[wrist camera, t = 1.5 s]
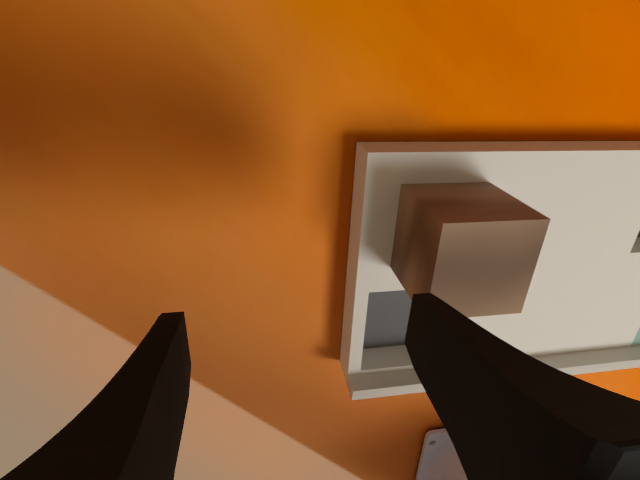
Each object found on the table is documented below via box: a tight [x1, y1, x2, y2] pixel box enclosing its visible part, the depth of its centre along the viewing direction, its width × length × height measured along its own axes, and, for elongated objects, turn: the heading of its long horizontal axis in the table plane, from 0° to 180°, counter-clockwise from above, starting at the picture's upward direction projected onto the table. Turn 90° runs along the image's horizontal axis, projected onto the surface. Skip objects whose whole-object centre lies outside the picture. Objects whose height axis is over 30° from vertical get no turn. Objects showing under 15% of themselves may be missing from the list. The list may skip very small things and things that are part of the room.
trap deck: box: [340, 141, 640, 400], centre depth 24 cm, size 14×26×3 cm, turn 88°
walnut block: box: [390, 182, 551, 317], centre depth 19 cm, size 4×4×4 cm
